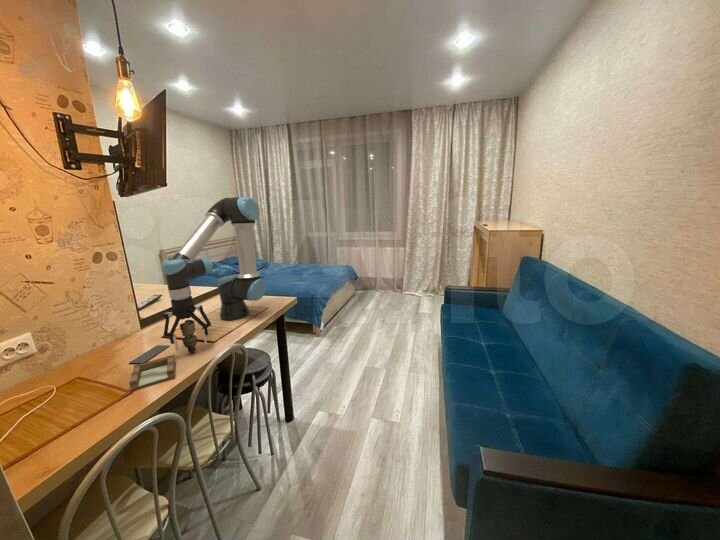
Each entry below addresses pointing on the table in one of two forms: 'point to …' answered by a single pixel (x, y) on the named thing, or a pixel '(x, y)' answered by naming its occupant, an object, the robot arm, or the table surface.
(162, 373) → the brown picture frame
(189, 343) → the stone figurine
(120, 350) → the table surface
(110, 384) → the table surface
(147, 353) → the smartphone
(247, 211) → the robot arm
